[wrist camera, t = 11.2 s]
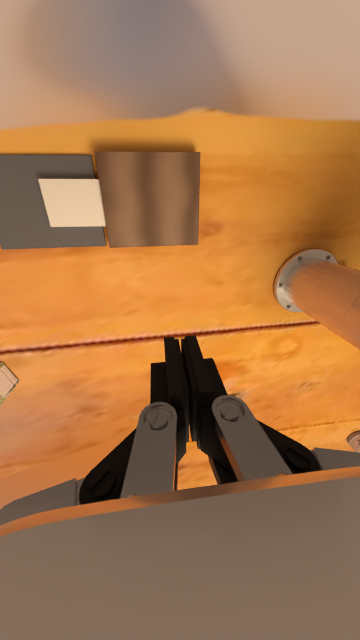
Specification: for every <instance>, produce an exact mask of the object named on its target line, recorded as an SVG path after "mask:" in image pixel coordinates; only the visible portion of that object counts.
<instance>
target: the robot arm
mask: <svg viewBox="0 0 360 640" xmlns="http://www.w3.org/2000/svg"><path fill="white" fill-rule="evenodd" d="M274 296H275V298H276V301H277V302H278V303H279V304H280V305H281V306H282V307H283V308H285V309H286V310H289V311H291V312H305V313H306V314H308V315H309V316H311V317H312V318H313V319H315V320H316V321H318V322H319V323H321V324H322V325H324V326H325V327H327V328H328V329H330V330H331V331H333V332H334V333H335V334H337V335H338V336H340V337H341V338H343V339H344V340H346V341H347V342H349V343H350V344H352V345H353V346H355V347H356V348H358V349H360V271H359V270H356V269H353V268H349V267H346V266H343V265H339V264H338V263H337V261H336V259H335V257H334V256H333V255H332V254H331V253H329V252H328V251H324V250H321V249H308V250H304V251H301V252H299V253H297V254H295V255H294V256H292V257H291V258H290V259H289V260H288V261H286V262H285V264H284V265H283V266H282V267H281V269H280V270H279V272H278V274H277V276H276V279H275V283H274ZM164 345H165V362H160V363H151V400H150V404H149V405H148V406H146V407H145V408H144V409H143V411H142V412H141V414H140V417H139V421H138V425H137V428H136V429H135V430H134V431H133V432H132V433H131V434H130V435H128V436H127V437H126V438H125V439H124V440H123V441H122V442H121V443H120V444H119V445H118V446H117V447H116V448H115V449H114V450H113V451H111V452H110V453H109V454H108V455H107V456H106V457H105V458H104V459H103V460H102V461H101V462H100V463H99V464H98V465H97V466H96V467H95V468H94V469H92V470H91V471H90V473H89V474H88V475H87V476H86V477H85V478H83V479H80V480H78V481H77V480H76V478H75V479H72V480H69V481H66V482H64V483H61V484H58V485H56V486H53V487H50V488H47V489H45V490H42V491H39V492H37V493H34V494H31V495H28V496H26V497H23V498H20V499H17V500H15V501H13V502H11V503H9V504H7V505H5V506H4V507H3V508H2V509H1V510H0V640H360V453H359V452H350V451H341V450H332V449H323V448H313V450H309V449H307V448H306V447H305V446H303V445H302V444H300V443H298V442H296V441H294V440H293V439H291V438H289V437H287V436H285V435H283V434H282V433H280V432H278V431H276V430H274V429H273V428H271V427H269V426H267V425H265V424H263V423H262V422H260V421H258V420H256V418H255V417H254V415H253V414H252V412H251V411H250V409H249V408H248V406H247V405H246V404H245V403H244V402H243V401H242V400H241V399H239V398H237V397H235V396H231V395H227V392H226V390H225V387H224V385H223V382H222V380H221V377H220V375H219V373H218V370H217V368H216V365H215V363H214V360H213V359H212V358H208V359H203V356H202V353H201V350H200V347H199V344H198V341H197V338H196V336H195V335H192V336H185V339H181V350H180V345H179V340H178V339H174V337H164ZM189 426H190V432H191V438H192V441H197V447H198V449H201V451H203V452H204V453H205V454H207V455H208V458H209V462H210V465H211V468H212V470H213V473H214V476H215V478H216V481H217V484H218V485H212V486H205V487H198V488H191V489H183V490H178V469H179V463H178V462H179V461H180V460H181V458H182V457H183V456H184V454H185V453H186V442H189Z"/></svg>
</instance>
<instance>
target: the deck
mask: <svg viewBox="0 0 360 640" xmlns="http://www.w3.org/2000/svg"><path fill="white" fill-rule="evenodd" d="M95 158H96V165H97V171H98V177H99V183H100V189H101V196H102V202H103V208H104V214H105V220H106V227H107V233H108V239H109V245H110V248H116V247H145V246H175V245H198V230H199V185H200V152H95Z"/></svg>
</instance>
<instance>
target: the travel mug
mask: <svg viewBox="0 0 360 640" xmlns="http://www.w3.org/2000/svg"><path fill="white" fill-rule="evenodd" d="M347 442H348V443H349V444H350V445H351V446H352V448H353V449H354V450H355V451H356V452H359V453H360V431H356V432H354V433H352V434H351V435H349V436H348V438H347Z"/></svg>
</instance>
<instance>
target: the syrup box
mask: <svg viewBox="0 0 360 640" xmlns="http://www.w3.org/2000/svg"><path fill="white" fill-rule="evenodd" d="M18 382H19V380H18V378H17V377H16V376H15V375H14V374H13V373H12V372H11V371H10V370H9V368H8V367H7V366H6V365H5V364H4V363H3V362H1V363H0V406H1V405H2V403H3V402H4V401H5V399H6V398H7V397H8V395H9V394H10V393H11V391H12V390H13V389H14V388H15V386H16V385H17V384H18Z"/></svg>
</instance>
